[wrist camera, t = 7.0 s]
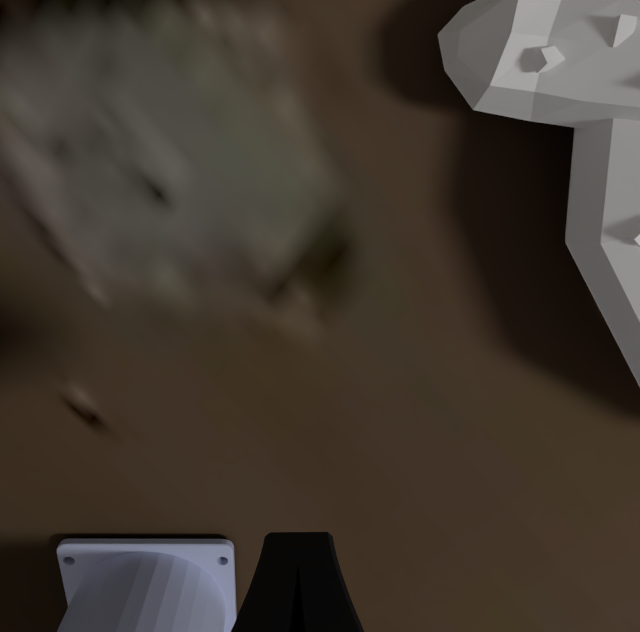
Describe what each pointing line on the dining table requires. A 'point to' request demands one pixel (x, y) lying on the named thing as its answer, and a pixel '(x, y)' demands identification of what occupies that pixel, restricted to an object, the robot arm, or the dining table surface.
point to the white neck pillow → (570, 122)
